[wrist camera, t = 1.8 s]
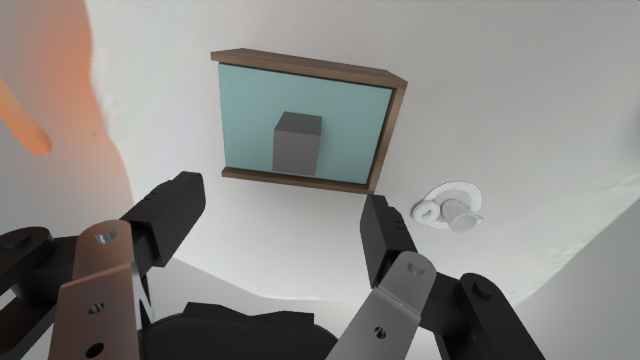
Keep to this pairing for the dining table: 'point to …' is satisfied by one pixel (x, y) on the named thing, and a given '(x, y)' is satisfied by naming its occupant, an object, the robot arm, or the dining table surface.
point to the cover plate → (300, 95)
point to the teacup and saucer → (450, 209)
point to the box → (330, 72)
